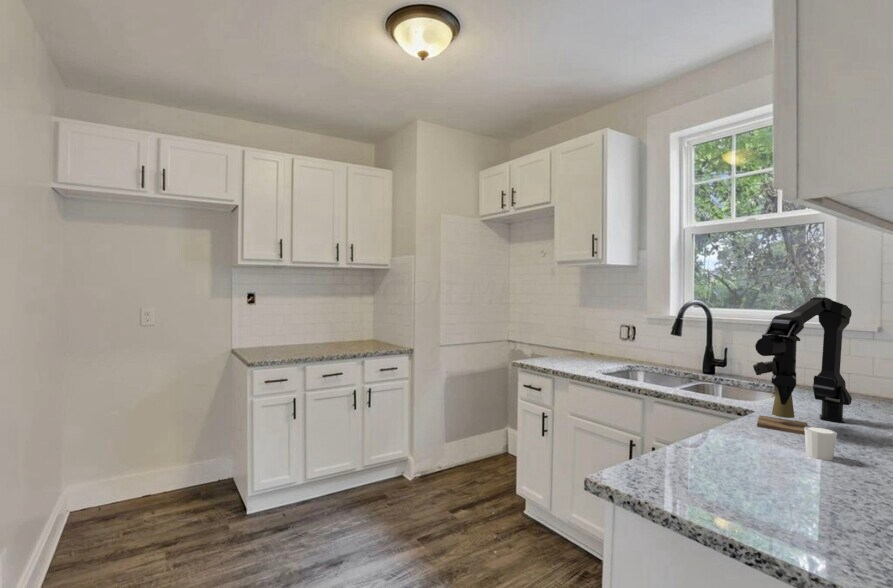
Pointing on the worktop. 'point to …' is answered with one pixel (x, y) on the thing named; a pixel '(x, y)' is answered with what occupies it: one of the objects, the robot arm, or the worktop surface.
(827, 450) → the white faceted cup
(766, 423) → the walnut coaster board
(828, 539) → the worktop surface
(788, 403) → the cork
